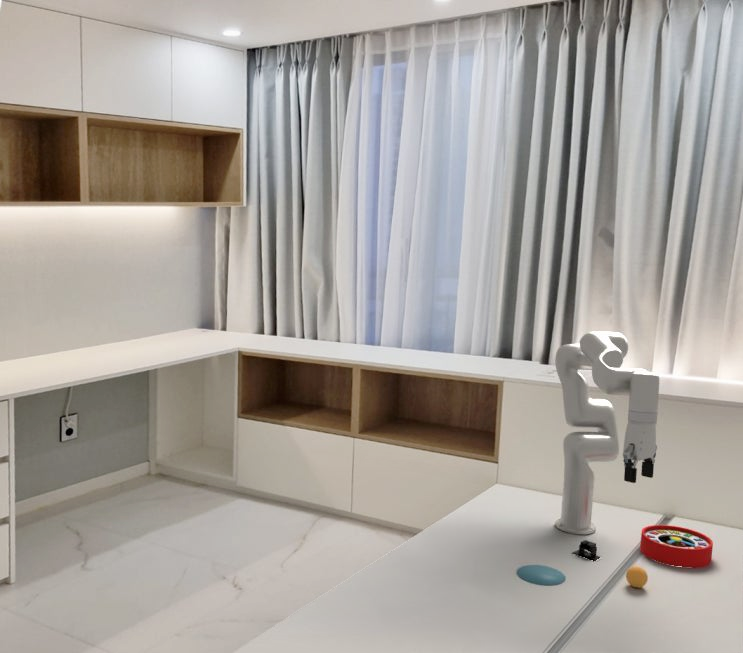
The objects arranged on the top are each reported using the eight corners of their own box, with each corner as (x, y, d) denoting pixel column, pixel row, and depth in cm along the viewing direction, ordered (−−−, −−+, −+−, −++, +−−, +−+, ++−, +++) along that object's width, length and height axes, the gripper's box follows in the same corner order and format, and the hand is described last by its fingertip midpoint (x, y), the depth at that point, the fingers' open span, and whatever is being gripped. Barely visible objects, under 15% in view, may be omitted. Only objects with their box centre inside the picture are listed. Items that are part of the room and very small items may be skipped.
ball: (623, 581, 213) (625, 561, 213) (645, 583, 212) (646, 564, 212) (626, 589, 208) (628, 569, 207) (648, 592, 207) (650, 572, 206)
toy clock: (662, 520, 248) (725, 540, 233) (660, 538, 249) (723, 559, 234) (628, 533, 235) (693, 555, 220) (627, 552, 235) (691, 575, 221)
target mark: (516, 563, 222) (517, 562, 222) (563, 568, 220) (564, 568, 220) (516, 581, 209) (516, 581, 209) (566, 588, 207) (566, 587, 207)
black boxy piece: (562, 553, 233) (563, 538, 232) (575, 548, 238) (576, 533, 237) (599, 567, 224) (600, 552, 223) (612, 561, 229) (614, 546, 228)
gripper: (644, 412, 222) (640, 472, 223) (614, 418, 210) (610, 481, 211) (670, 416, 217) (666, 477, 218) (640, 422, 205) (636, 487, 206)
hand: (638, 479), depth 215 cm, fingers open, 9 cm apart
